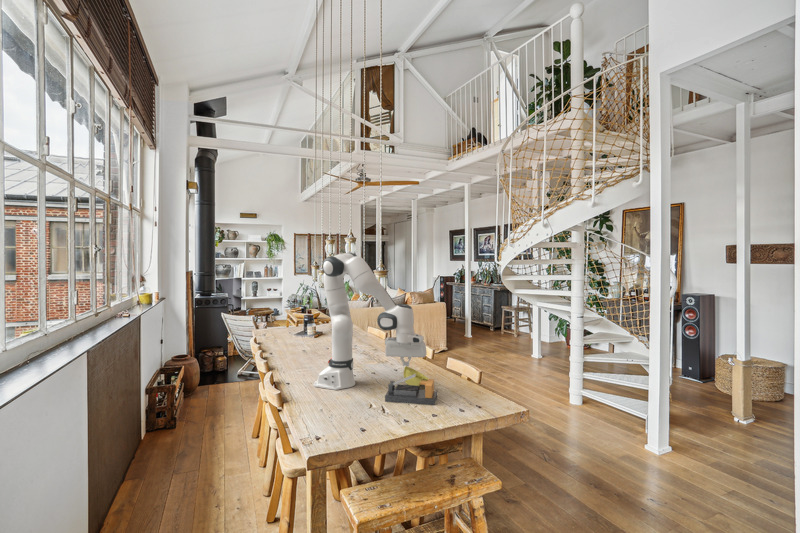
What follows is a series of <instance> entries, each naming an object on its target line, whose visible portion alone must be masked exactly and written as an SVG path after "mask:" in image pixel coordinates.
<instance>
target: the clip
mask: <svg viewBox="0 0 800 533" xmlns="http://www.w3.org/2000/svg"><path fill="white" fill-rule="evenodd" d="M420 384H421V385H422V386H424V387H425V388H424V390H425V398H432V396H433V393H434V391H435V379H434V378H429V379H428V380H427V381H421V382H420ZM421 385H420V386H421Z"/></svg>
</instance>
